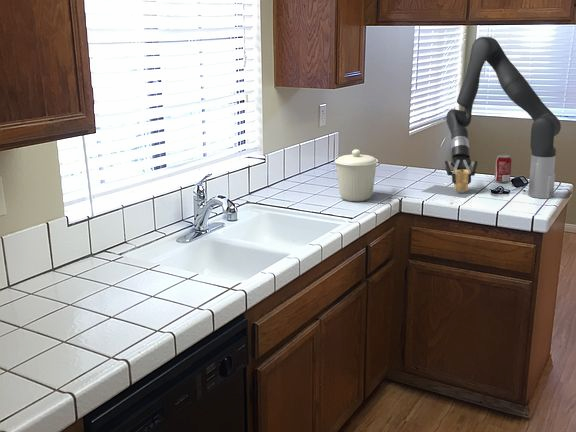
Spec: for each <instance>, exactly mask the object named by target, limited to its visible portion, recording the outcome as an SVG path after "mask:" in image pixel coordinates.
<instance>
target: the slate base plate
mask: <svg viewBox="0 0 576 432" xmlns="http://www.w3.org/2000/svg"><path fill="white" fill-rule="evenodd" d="M421 192H422V193H429V194H434V195H435V194H436V195H442V196H447V197H455V198H461V199H467V198H469V197H470V196H472V195H475V194H476V193H478V192H479V190H476V189H469V188H468V191H464V193H458V191H455V188H454V186H446V185H440V184H439V185H438V184H435V185H433V186H430V187H428V188H426V189H424V190H421Z"/></svg>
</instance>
